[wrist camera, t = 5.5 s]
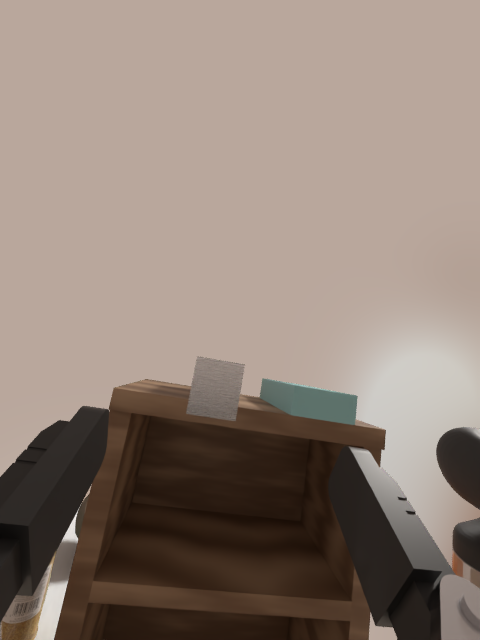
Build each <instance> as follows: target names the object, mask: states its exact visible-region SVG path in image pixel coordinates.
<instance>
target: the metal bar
mask: <svg viewBox="0 0 480 640" xmlns="http://www.w3.org/2000/svg"><path fill="white" fill-rule="evenodd" d="M244 366H245V365H244V364H238V363H233V362H226V361H220V360H215V359H210V358H204V357H197V360H196V365H195V371H194V376H193V381H192V386H191V391H190V396H189V401H188V406H187V411H186V414H190V415H197V416H203V417H210V418H217V419H223V420H230V421H236V416H237V410H238V403H239V397H240V391H241V385H242V379H243V372H244Z"/></svg>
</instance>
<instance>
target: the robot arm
mask: <svg viewBox="0 0 480 640" xmlns="http://www.w3.org/2000/svg"><path fill="white" fill-rule="evenodd" d="M108 424H109V410H108V409H101V408H95V407H89V406H82V407H81V408H80V409H79V410H78V412H77V413H76V414H75V416H74V417H73V418H72V419H71V420H70V422H68V421H61V420H59V421H57V422H56V423H54V424H53V425H51V426H49V427H48V428H46V429H45V430H43V431H41V432H40V433H39V435H38V436H37V437H36V438H35V439H34V440H33V441H32V442H31V443H30V445H29V446H28V448H27V450H24V451H23V453H22V454H21V455H20V456H19V457H18V458H17V459H16V462H15V463H13V464H12V465H11V466H10V467H9V468H8V469H7V470H6V472H4V474H3V475H2V476H1V477H0V640H2V631H1V621H2V619H3V617H4V616H5V614H6V612H7V610H8V609H9V607H10V605H11V603H12V602H13V600H14V598H15V596H16V595H21V596H33V594H34V592H35V590H36V588H37V587H38V585H39V583H40V581H41V579H42V577H43V575H44V573H45V571H46V570H47V568H48V566H49V564H50V562H51V560H52V558H53V556H54V554H55V552H56V551H57V549H58V547H59V545H60V543H61V541H62V539H63V537H64V535H65V533H66V532H67V530H68V528H69V526H70V524H71V522H72V520H73V518H74V516H75V514H76V513H77V511H78V509H79V507H80V505H81V503H82V501H83V499H84V497H85V495H86V493H87V492H88V490H89V488H90V486H91V484H92V482H93V480H94V478H95V476H96V475H97V473H98V471H99V469H100V467H101V465H102V462H103V459H104V456H105V453H106V448H107V438H108ZM436 453H437V454H436V455H437V461H438V464H439V467H440V469H441V471H442V474H443V476H444V477H445V479H446V480H447V482H448V483H449V484H450V485H451V487H452V488H453V489H454V490H455V491H456V493H458V494H459V495H460V496H461V497H462V498H463V499H465V500H466V501H468V502H469V503H471V504H472V505H473V506H475V507H476V508H478V509H480V429H478V428H467V427H462V428H455V429H452V430H450V431H448V432H446V433H445V434H444V435H443V436H442V437H441V438H440V440H439V442H438V445H437V450H436ZM328 493H329V497H330V500H331V503H332V506H333V509H334V512H335V514H336V517H337V520H338V523H339V525H340V528H341V531H342V534H343V537H344V539H345V542H346V545H347V548H348V550H349V553H350V556H351V559H352V562H353V564H354V567H355V570H356V573H357V575H358V578H359V581H360V584H361V587H362V589H363V592H364V595H365V598H366V600H367V603H368V606H369V609H370V612H371V614H372V617H373V620H374V622H375V625H376V626H382V627H393V628H394V631H395V633H396V636H397V638H398V639H397V640H480V518H477V519H474V520H470V521H466V522H462V523H459V524H457V525H456V526H455V528H454V530H453V555H452V556H453V557H452V568H451V567H450V565H449V564H448V562H447V561H446V559H445V558H444V556H443V554H442V553H441V551H440V550H439V548H438V547H437V545H436V543H435V542H434V540H433V539H432V537H431V536H430V534H429V532H428V531H427V529H426V528H425V526H424V524H423V523H422V521H421V520H420V518H419V517H418V515H416V514H415V510H414V509H413V507H412V506H411V504H410V502H409V501H407V498H406V496H405V495H404V493H403V491H402V490H401V488H400V487H399V485H398V484H397V482H396V481H395V480H394V479H393V478H392V477H391V476H390V475H389V474H388V473H387V472H386V471H385V470H384V469H383V468H380V467H379V466H378V464H377V463H376V461H375V459H374V458H373V456H372V454H371V453H370V452H369V451H368V450H367V449H362V448H355V447H348V446H345V447H343V448H342V449H341V451H340V454H339V456H338V458H337V461H336V463H335V465H334V468H333V470H332V472H331V475H330V477H329V481H328Z"/></svg>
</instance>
